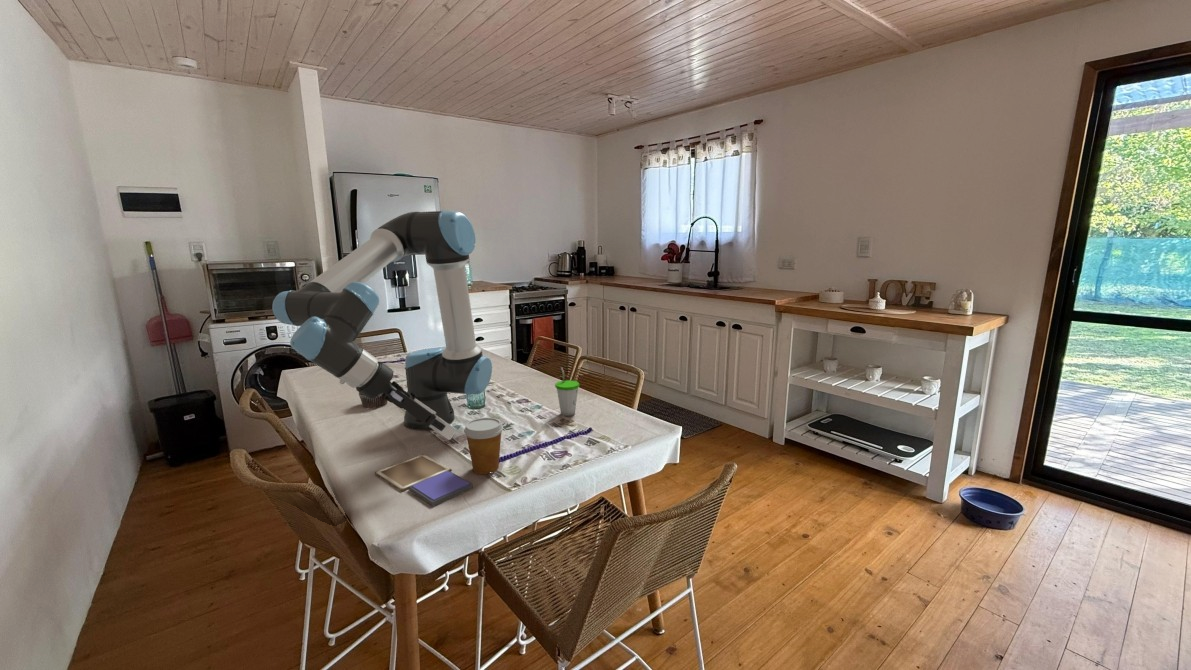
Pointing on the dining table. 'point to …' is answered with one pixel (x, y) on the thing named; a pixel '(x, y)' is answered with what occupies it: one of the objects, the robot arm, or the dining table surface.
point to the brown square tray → (411, 472)
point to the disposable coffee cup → (484, 444)
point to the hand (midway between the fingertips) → (442, 425)
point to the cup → (567, 395)
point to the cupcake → (373, 401)
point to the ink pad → (440, 487)
